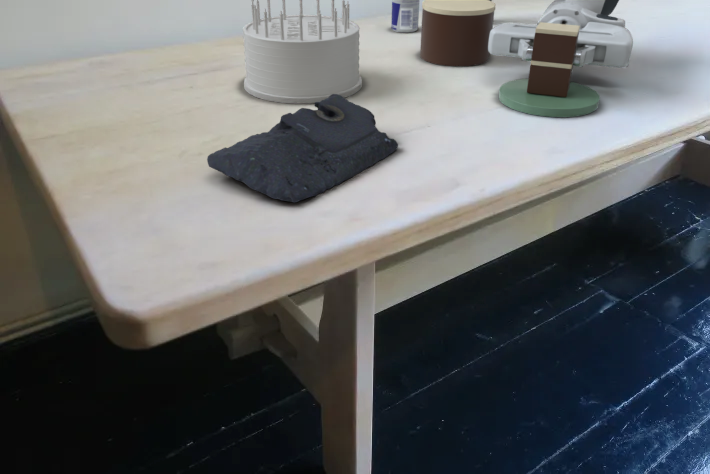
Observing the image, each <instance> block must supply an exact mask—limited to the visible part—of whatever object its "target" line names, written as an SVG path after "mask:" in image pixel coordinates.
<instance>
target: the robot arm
mask: <svg viewBox="0 0 710 474" xmlns="http://www.w3.org/2000/svg"><path fill="white" fill-rule="evenodd" d="M619 1H620V0H553V1H552V2H551V3H550V4H549V5H548V6H547V7H546V9H545V10H544V12H543V14H542V15H541V16H540V18H539V19H538V21H537V22H536V24H534V23H524V22H502V23H500V24H497V25H495V26H493V29H492V30H491V31H490V35H489V42H488V52H489V53H490V55H493V56H501V57H512V58H520V59H521V61H523V62H524V61H525V62H531V58H532V51H533V44H534V37H535V30H536V27H537V26H538V24H539V23H540V22H543V23H555V24H566V25H578V26H580V30H579V35H578V41H577V46H576V50H575V53H574V58H573V59H574V60H573V64H572V66H573V67H580V68H581V67H584V65H590V66H597V67H598V66H599V67H609V68H616V69H617V68H618V69H623V68H627V67H628V66H629V64H630V61H631V56H632V51H633V45H634V40H633V39H634V38H633V35H632V33H631V31H630V30H629V29H628V28H626V20H625V19H623V18H621V17H616V16H611V14H613V12H614V10H615V9H616V7H617V5H618V3H619Z"/></svg>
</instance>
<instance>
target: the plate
mask: <svg viewBox="0 0 710 474" xmlns="http://www.w3.org/2000/svg"><path fill="white" fill-rule="evenodd" d="M528 79H529V77H528V78H518V79H513V80H510V81H507V82H505V83H503V84H501V85H500V87H499V89H498V91H499V92H498V100H499V102H500V103H501V104H503V105H504V106H505V107H507V108H509V109H511V110H514V111H517V112H520V113H524V114H529V115H533V116H538V117H539V116H540V117H548V118H571V117H581V116H585V115H586V116H587V115H588V114H589V115H590V114H591V113H594V112H595V111H597V110H598V109H599V105H600V100H601V97H600V94H599V93H598V91H596V90H595V89H593V88H592V87H589V86H587V85H584V84H581V83H578V82H574V81H570V86H569V90H568V93H567V96H566V97H559V96H551V95H543V94H534V93H527V86H528Z"/></svg>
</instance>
